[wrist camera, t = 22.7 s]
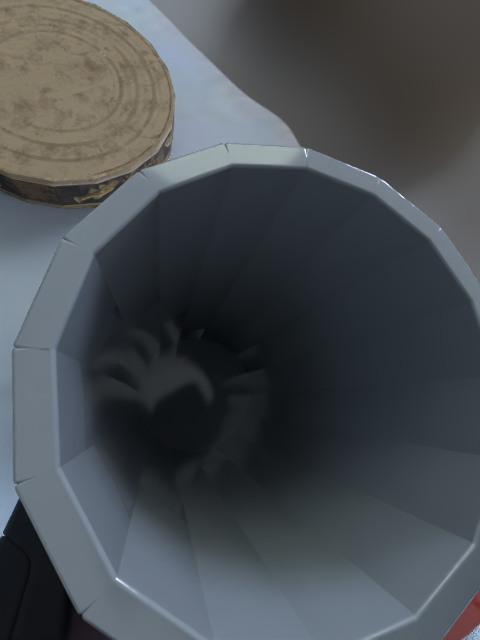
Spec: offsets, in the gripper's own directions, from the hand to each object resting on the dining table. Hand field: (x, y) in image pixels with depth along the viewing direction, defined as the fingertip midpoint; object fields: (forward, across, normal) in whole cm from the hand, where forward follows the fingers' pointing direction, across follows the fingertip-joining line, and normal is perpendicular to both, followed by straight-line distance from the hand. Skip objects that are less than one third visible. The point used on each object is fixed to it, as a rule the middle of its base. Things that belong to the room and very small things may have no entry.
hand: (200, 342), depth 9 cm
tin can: (+25, -1, -6) cm, 26 cm away
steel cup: (+4, 0, +6) cm, 7 cm away
